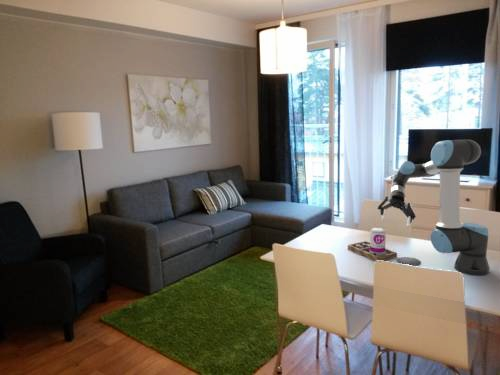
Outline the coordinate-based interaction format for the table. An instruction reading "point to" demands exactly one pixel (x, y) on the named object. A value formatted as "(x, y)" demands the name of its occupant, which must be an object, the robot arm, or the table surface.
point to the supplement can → (377, 241)
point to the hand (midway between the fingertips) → (395, 223)
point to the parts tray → (365, 248)
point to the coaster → (408, 261)
